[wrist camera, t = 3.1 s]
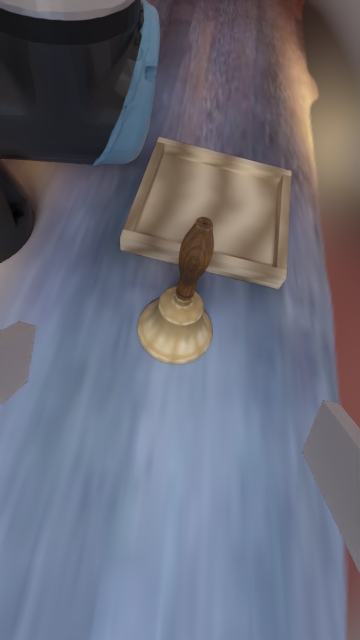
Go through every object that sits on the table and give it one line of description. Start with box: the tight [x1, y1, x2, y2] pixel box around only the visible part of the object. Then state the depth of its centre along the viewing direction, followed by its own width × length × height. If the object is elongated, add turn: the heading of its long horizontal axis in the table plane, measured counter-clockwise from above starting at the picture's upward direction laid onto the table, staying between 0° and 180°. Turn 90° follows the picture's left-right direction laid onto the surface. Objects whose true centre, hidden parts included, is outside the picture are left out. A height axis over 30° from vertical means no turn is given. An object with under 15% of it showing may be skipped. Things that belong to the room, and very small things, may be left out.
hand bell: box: [137, 217, 214, 364], centre depth 31 cm, size 8×8×16 cm
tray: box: [120, 137, 291, 289], centre depth 46 cm, size 20×20×2 cm
